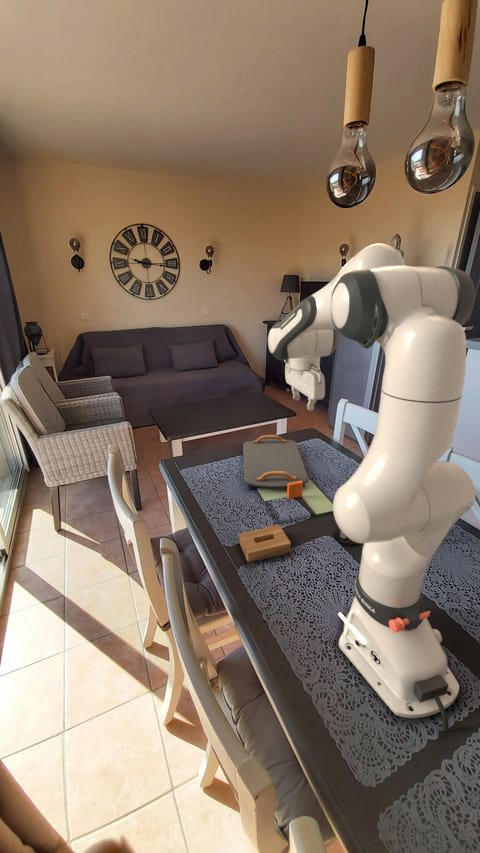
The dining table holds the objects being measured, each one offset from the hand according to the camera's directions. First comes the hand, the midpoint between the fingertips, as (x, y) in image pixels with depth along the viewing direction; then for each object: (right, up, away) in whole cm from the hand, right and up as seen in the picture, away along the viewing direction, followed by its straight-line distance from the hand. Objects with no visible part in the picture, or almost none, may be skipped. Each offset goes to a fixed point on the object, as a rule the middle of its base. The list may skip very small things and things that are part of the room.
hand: (303, 404), depth 113 cm
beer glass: (+11, -39, -11) cm, 41 cm away
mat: (-1, -31, +7) cm, 32 cm away
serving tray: (-7, -22, +27) cm, 36 cm away
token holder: (-13, -41, -14) cm, 45 cm away
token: (-2, -31, +7) cm, 31 cm away
